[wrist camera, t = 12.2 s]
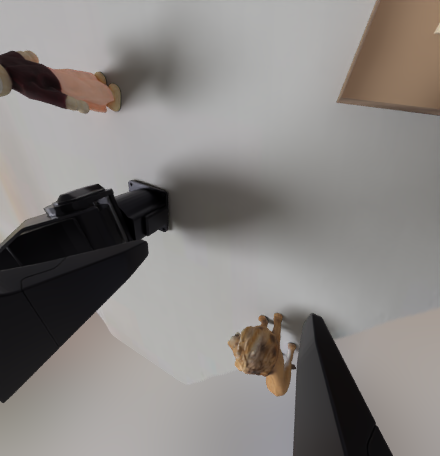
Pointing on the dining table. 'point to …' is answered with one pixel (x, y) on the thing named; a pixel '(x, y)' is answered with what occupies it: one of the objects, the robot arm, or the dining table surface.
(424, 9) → the plinth
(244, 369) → the lion figurine
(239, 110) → the dining table surface
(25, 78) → the grandmother figurine
